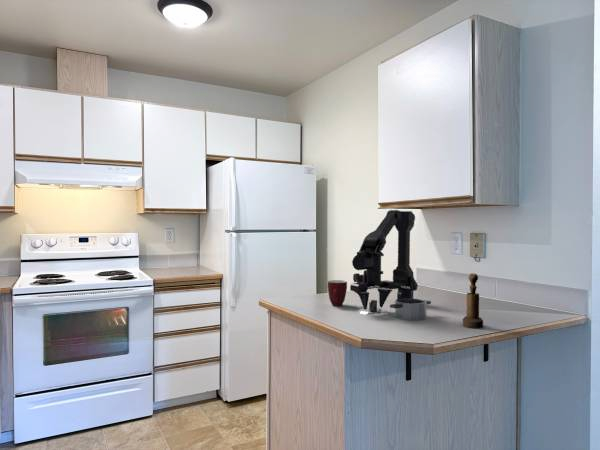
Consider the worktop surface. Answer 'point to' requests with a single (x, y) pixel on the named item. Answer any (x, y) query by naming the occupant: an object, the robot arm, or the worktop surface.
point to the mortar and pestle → (473, 306)
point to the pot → (410, 309)
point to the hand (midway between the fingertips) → (373, 308)
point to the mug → (337, 291)
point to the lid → (373, 310)
